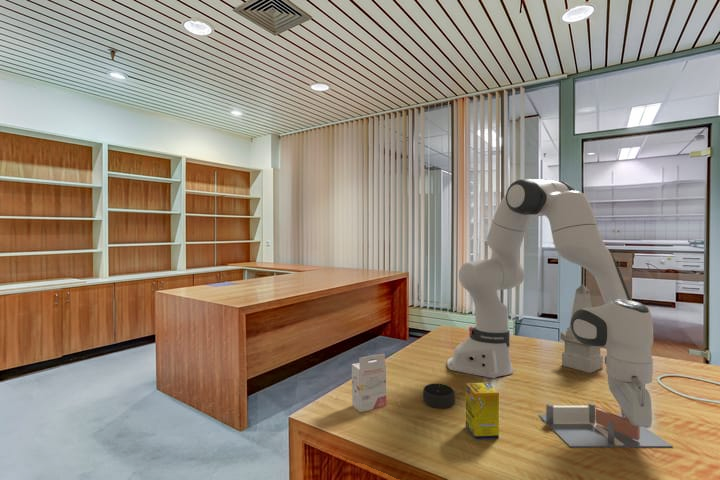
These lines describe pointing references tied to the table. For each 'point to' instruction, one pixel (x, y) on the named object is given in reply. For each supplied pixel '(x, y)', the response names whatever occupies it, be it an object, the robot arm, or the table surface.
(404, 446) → the table surface
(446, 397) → the smart speaker
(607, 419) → the fence panel
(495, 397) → the supplement box
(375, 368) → the ink cartridge box
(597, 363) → the miniature monument
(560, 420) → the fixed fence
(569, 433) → the card
